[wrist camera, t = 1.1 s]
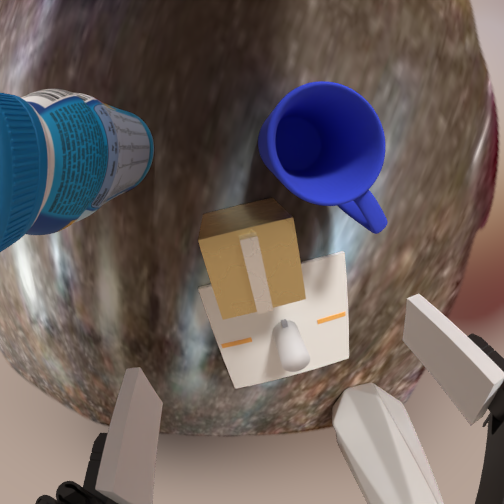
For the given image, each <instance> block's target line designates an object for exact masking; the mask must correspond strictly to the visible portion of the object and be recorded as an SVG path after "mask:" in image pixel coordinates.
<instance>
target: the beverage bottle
mask: <svg viewBox="0 0 504 504" xmlns="http://www.w3.org/2000/svg"><path fill="white" fill-rule="evenodd" d="M153 155H154V143H153V138H152V135H151V132H150V130H149V128H148V126H147V125H146V124H145V122H144V121H143V120H142V119H141V118H139V117H138V116H136V115H135V114H133V113H130V112H128V111H124V110H121V109H118V108H115V107H113V106H110V105H107V104H105V103H102V102H101V101H99V100H98V99H96V98H94V97H92V96H89V95H86V94H81V93H71V92H69V91H66V90H62V89H44V90H40V91H36V92H33V93H30V94H28V95H26V96H24V97H22V98H20V97H18V96H15V95H10V94H4V93H0V252H1V251H3V250H4V249H6V248H7V247H9V246H11V245H12V244H13V243H15V242H16V241H18V240H19V239H20V238H21V237H23V236H24V235H25V234H29V235H45V234H51V233H55V232H58V231H60V230H63V229H65V228H66V227H68V226H70V225H71V224H72V223H74V222H77V221H80V220H82V219H84V218H86V217H88V216H90V215H91V214H93V213H94V212H95V211H97V210H98V209H99V208H100V207H101V206H102V205H103V204H104V203H106V202H108V201H110V200H111V199H113V198H115V197H116V196H118V195H120V194H123V193H125V192H127V191H129V190H131V189H133V188H134V187H136V186H137V185H138V184H139V183H140V182H141V181H142V180H143V179H144V177H145V176H146V174H147V173H148V171H149V169H150V167H151V164H152V160H153Z"/></svg>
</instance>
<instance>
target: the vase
mask: <svg viewBox="0 0 504 504" xmlns="http://www.w3.org/2000/svg"><path fill="white" fill-rule="evenodd" d="M332 424H333V427H334V429H335V431H336V437H337V443H338V445H339V448H340V450H341V452H342V454H343V456H344V458H345V460H346V462H347V464H348V466H349V468H350V470H351V472H352V474H353V476H354V478H355V480H356V482H357V484H358V486H359V488H360V490H361V492H362V494H363V496H364V498H365V500H366V502H367V504H444V503H443V500H442V497H441V494H440V491H439V489H438V486H437V483H436V481H435V478H434V475H433V473H432V470H431V467H430V465H429V462H428V460H427V457H426V455H425V453H424V450H423V448H422V445H421V443H420V441H419V438H418V436H417V434H416V431H415V429H414V427H413V425H412V422H411V420H410V418H409V416H408V413H407V411H406V410H405V408H404V406H403V404H402V403H401V402H400V401H399V400H397V399H396V398H394V397H393V396H391V395H390V394H388V393H387V392H385V391H384V390H383V389H381V388H380V387H378V386H377V385H375V384H373V383H366V384H362V385H358V386H354V387H350V388H347V389H346V390H344V391H343V393H342V394H341V396H340V397H339V398H338V400H337V401H336V403H335V404H334V406H333V407H332Z"/></svg>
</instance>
